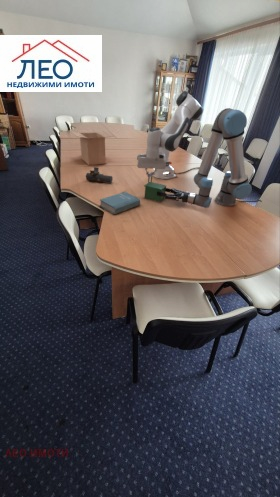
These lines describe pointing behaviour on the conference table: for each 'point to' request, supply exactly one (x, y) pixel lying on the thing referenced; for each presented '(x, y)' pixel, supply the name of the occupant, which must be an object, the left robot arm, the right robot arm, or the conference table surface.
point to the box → (92, 146)
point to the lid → (154, 185)
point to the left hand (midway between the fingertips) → (150, 174)
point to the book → (119, 202)
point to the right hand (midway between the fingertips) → (159, 191)
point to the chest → (154, 194)
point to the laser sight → (98, 176)
